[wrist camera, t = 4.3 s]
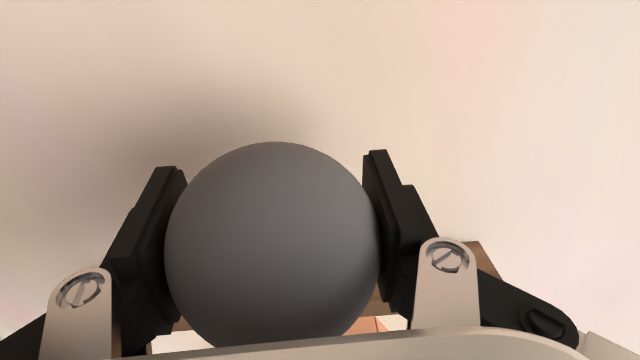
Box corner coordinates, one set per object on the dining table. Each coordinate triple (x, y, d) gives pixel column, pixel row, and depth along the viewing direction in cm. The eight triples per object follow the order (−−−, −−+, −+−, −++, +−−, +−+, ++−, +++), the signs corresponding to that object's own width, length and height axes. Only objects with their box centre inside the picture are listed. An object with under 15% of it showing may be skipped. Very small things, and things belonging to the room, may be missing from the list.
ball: (169, 113, 11) (72, 269, 6) (364, 99, 11) (427, 237, 6) (212, 249, 14) (175, 415, 9) (359, 236, 14) (396, 392, 10)
